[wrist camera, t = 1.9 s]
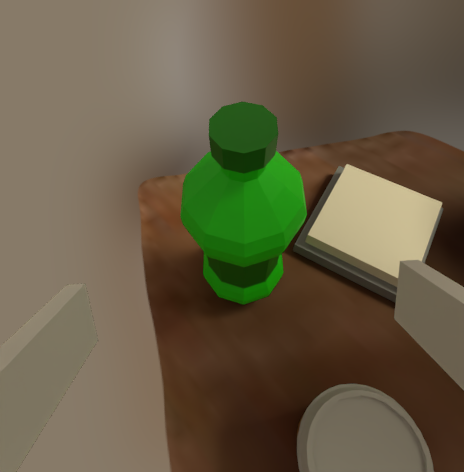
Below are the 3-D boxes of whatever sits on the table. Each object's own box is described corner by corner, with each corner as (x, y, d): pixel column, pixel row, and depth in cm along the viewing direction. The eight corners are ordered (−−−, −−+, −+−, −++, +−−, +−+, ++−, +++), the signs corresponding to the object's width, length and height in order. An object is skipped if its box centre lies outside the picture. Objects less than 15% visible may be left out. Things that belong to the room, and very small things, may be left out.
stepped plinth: (435, 216, 44) (452, 200, 40) (403, 306, 38) (419, 297, 35) (335, 174, 48) (342, 156, 44) (292, 250, 42) (296, 237, 39)
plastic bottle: (236, 330, 37) (227, 232, 15) (189, 265, 42) (128, 114, 19) (298, 282, 40) (368, 139, 18) (248, 226, 44) (254, 52, 22)
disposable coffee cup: (356, 381, 35) (407, 373, 24) (389, 488, 30) (469, 537, 19) (272, 395, 34) (285, 393, 23) (292, 505, 30) (321, 565, 19)
